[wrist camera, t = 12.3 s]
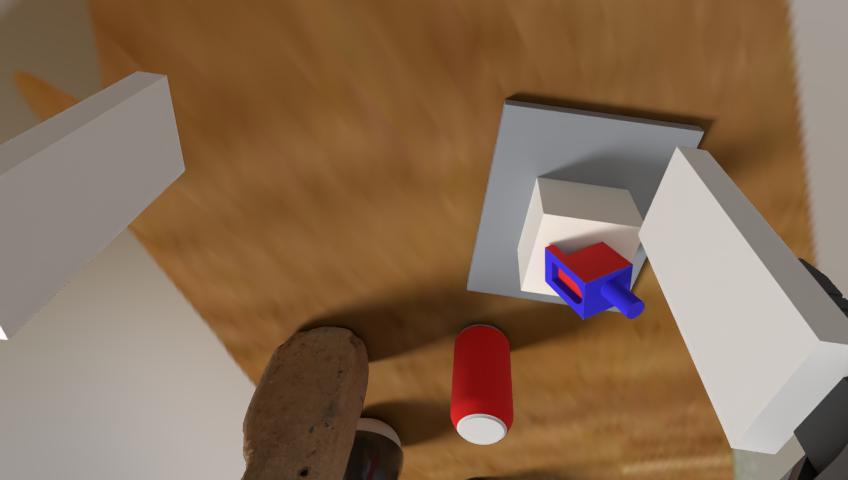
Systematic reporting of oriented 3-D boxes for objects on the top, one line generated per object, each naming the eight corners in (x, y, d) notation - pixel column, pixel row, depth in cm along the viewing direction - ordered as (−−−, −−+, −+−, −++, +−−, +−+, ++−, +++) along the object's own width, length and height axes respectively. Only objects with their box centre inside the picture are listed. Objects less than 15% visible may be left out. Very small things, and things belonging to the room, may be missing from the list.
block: (366, 323, 58) (321, 494, 42) (375, 367, 62) (337, 537, 46) (277, 323, 59) (199, 488, 43) (292, 365, 64) (226, 530, 47)
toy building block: (587, 265, 43) (655, 322, 37) (544, 281, 42) (607, 343, 36) (588, 231, 41) (661, 285, 35) (544, 247, 40) (610, 306, 34)
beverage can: (483, 310, 55) (483, 402, 45) (520, 341, 57) (527, 434, 47) (444, 336, 58) (436, 427, 48) (480, 364, 60) (480, 457, 50)
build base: (504, 99, 41) (508, 134, 35) (699, 126, 41) (734, 166, 35) (466, 282, 53) (464, 332, 47) (617, 304, 53) (634, 357, 47)
